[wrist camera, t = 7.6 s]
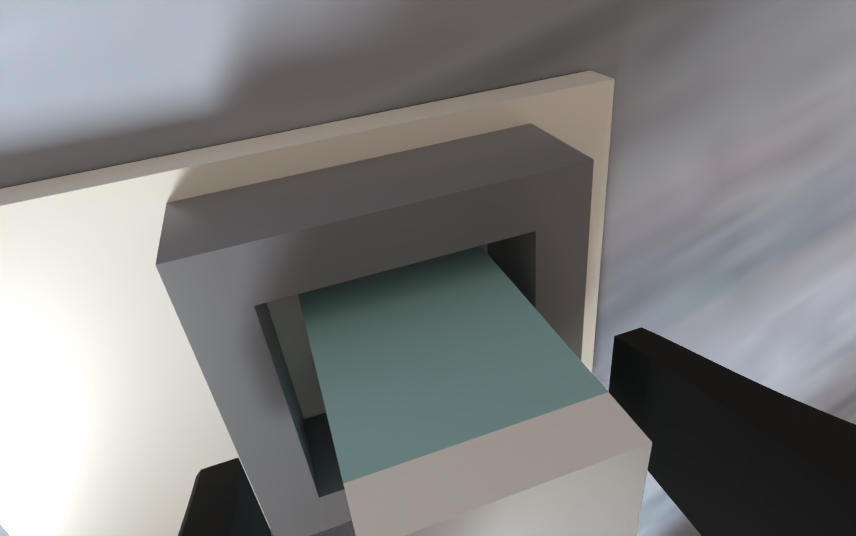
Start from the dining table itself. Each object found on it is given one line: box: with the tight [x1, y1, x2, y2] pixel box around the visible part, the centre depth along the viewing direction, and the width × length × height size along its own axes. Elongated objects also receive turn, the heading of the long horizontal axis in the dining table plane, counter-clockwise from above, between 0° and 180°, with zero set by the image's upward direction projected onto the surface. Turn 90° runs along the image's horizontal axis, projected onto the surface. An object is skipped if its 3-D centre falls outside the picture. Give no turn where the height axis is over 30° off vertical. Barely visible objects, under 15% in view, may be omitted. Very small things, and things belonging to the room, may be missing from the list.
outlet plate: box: [0, 71, 615, 536], centre depth 13 cm, size 11×16×4 cm
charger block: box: [298, 246, 652, 536], centre depth 11 cm, size 4×4×7 cm
